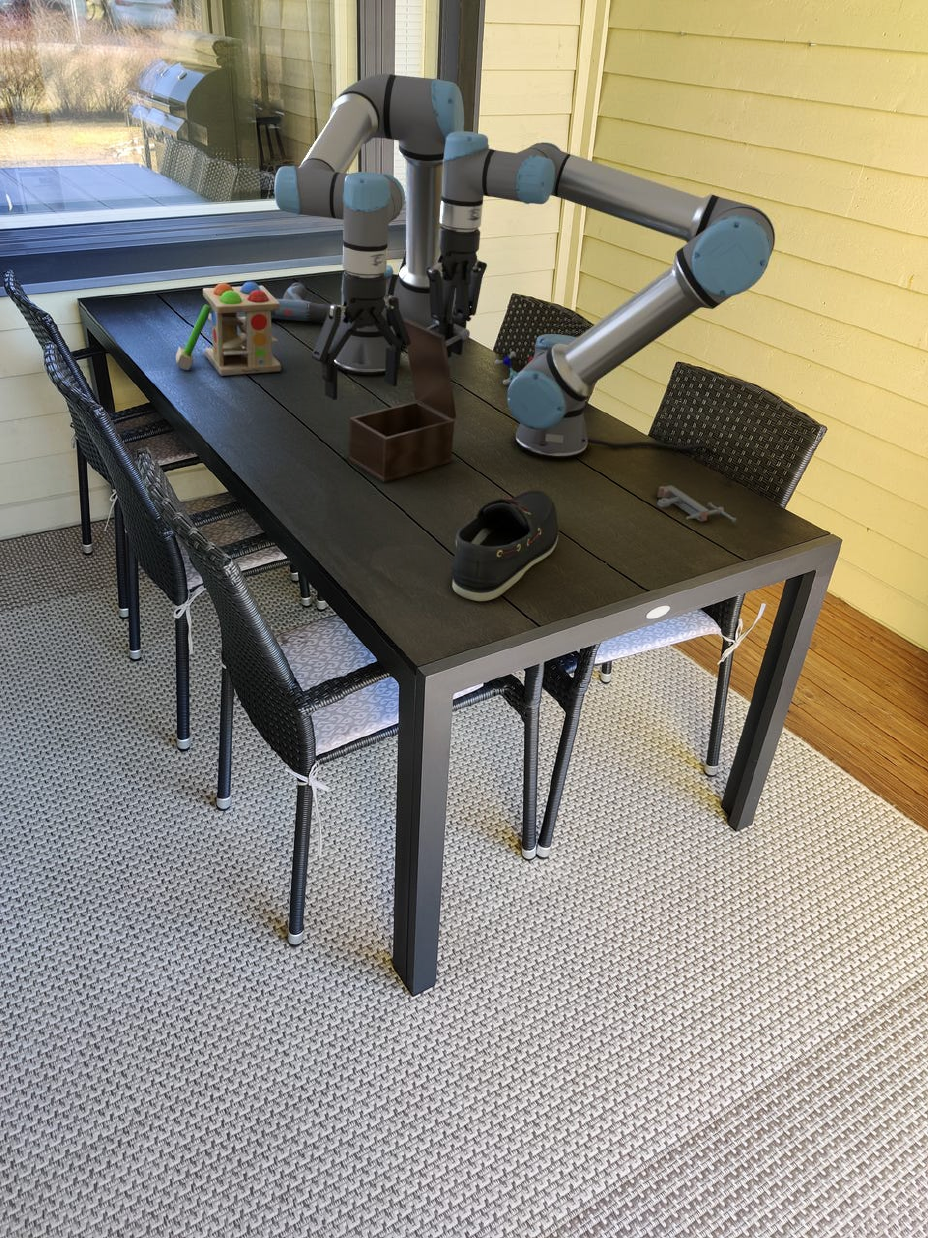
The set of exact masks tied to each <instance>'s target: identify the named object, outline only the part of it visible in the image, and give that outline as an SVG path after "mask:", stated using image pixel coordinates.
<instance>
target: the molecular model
mask: <svg viewBox="0 0 928 1238" xmlns="http://www.w3.org/2000/svg"><path fill="white" fill-rule="evenodd" d="M516 355H517V354H516V352H515V351H511V352H510V354H509V356H508V357H504V359H503V360H500V359H496V360H494V363H495V365H497V366H499V365H500V364H504V365H506V366H507V367H508V369H509V371H510V373H509V377H508V379H504V380H502V385H504V386H510V384H511V381H512V380H513V378H514V376H515V375H516V374H518V373H519V372H517V371H516V370H514V369H513V367H512V365H511V362H512V361H511V359H512V358H514V357H515V356H516ZM533 358H534V356H531V357H529V358H528V363H529V362H530V361H531V360H532V359H533Z"/></svg>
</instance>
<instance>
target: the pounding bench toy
mask: <svg viewBox="0 0 928 1238" xmlns="http://www.w3.org/2000/svg"><path fill="white" fill-rule="evenodd" d="M202 296H203V298H204V299H205V300H206V301H207V302H208V304H209V305H208V304H204V305H203V307H202V309H201V312H200V313H199V316H198V318H197V320H196V322H195V324H194V327H193V329H192V331H191V332H190V333H191V334H190V336H189V338H188V340H187V343H186V344H185V347H184V348H182V347H180V346H179V347H178V349H177V351H176V354H175V357H174V358H175V362H176V365H177V366H178V368H179V369H182V370H185V371H189V370H190V369H191V367H192V365H193V363H194V356H193V351H194V348H195V347H196V345H197V342H198V340H199V337H200V336H201V333H202V332H203V329H204V326H205V325H206V322H207V320H209V321H210V322H211V336H212V337H211V338H212V339H211V340H212V348H205V349H204V352H205V353H204V355H205V357H206V359H208V361H209V363H210V364H211V365H212V366H213V367H214V369H215V370H216V371H217V372H218V374H219V375H220V376H222V377H223V376H234V375H235V376H236V375H246V374H247V375H250V374H262V373H275V372H281V370H282V364H281V363H280V362H279V360H278V359H277V358H276V357H275V356H274V355H273V348H272V347H273V345H272V344H276V343H278V342H279V341H278V339H277V338H276V337H275V336H274V334H272V318H271V310H280V303H279V302H278V301H277V300H276V299H277V298H276V297H274V296H273V295H272V294H271V293H270V292H269V290H268V289H267V288H266V287H264V285H259V284H257V283H256V282H255V281H247V282H245V283H244V284H243V285H242V286H232V285H230V284H229V283H226V282H221V283H218V284H217V285H216V286H215V287H204V288H203V289H202ZM238 313H244V314H245V315H244V316H238ZM238 329H239V331H240V333H239V334H238Z"/></svg>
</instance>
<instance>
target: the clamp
mask: <svg viewBox="0 0 928 1238" xmlns="http://www.w3.org/2000/svg"><path fill="white" fill-rule="evenodd" d="M656 497H657V498H659V499H658V501H657V506H659V507H660V508H667V507H669V506H670V507H671V505H673V504H674V505H675V506H677V507H679V508H680V509H681V510H682V511H684V512H686V513H687V514H688V516H686V517H685V519H686V520H691V519H692V520H694V519H696V520H697V521H699V522H704V521H707V519H708V516H711V515H717V516H718V515H723V516H725V517H726V518H728V519H729V520H731V521H732V523H736V522H737V521H738V519H737V517H733V516H732V515H730V514H728V513H727V512H725V509H724V507H723V506H718V507H717V506H715V505H714V504H713V503H712V502H711V501H709V502H707V507H708V508H711V509H712V510H709V509H708V508H706V507H705V506H704V505H702V504H701V503H699V502H698V501H696V500H695V499H693V498H691V497H690V496H689V495H687V494H686V493H684V492H683V491H681V490H679V489H678V488H677V487H675V486H674V485H666V486H664V485H662V486H659V487H658V492H657V496H656ZM660 498H661V499H660Z"/></svg>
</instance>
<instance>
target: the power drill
mask: <svg viewBox="0 0 928 1238" xmlns="http://www.w3.org/2000/svg"><path fill="white" fill-rule="evenodd" d="M307 295H308V290H307V287H306V285H304V284H303V283H301V282H293V283H292V284H291V285H290V286H289V287H288V288H287V289H286V291H285V292H284V294H283V297H282V298H275V299H276V300H277V301H278V302H279V303H280V310H271V319H274V320H275V319H276V320H283V321H294V322H295V321H297V322H325V320H326V317H327V309H328V305H329V304H324V303H317V302H313V301H307V300H305V299H306V297H307Z"/></svg>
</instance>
